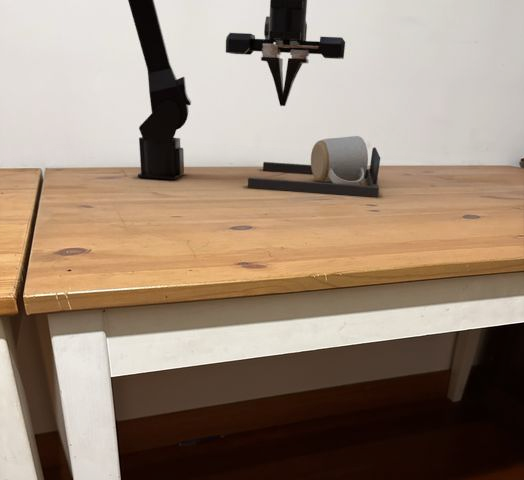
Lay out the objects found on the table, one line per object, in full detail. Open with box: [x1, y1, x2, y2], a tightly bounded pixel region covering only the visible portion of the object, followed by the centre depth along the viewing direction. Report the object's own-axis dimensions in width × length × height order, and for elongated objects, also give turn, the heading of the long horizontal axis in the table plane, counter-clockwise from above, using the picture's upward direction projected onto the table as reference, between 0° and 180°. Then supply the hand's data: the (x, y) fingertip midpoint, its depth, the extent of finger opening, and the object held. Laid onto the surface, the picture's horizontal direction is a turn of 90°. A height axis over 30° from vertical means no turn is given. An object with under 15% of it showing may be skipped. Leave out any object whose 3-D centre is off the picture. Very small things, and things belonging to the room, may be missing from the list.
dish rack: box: [247, 146, 381, 198], centre depth 91 cm, size 21×19×6 cm
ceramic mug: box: [310, 135, 369, 185], centre depth 90 cm, size 11×8×8 cm
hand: (282, 105), depth 88 cm, fingers closed
